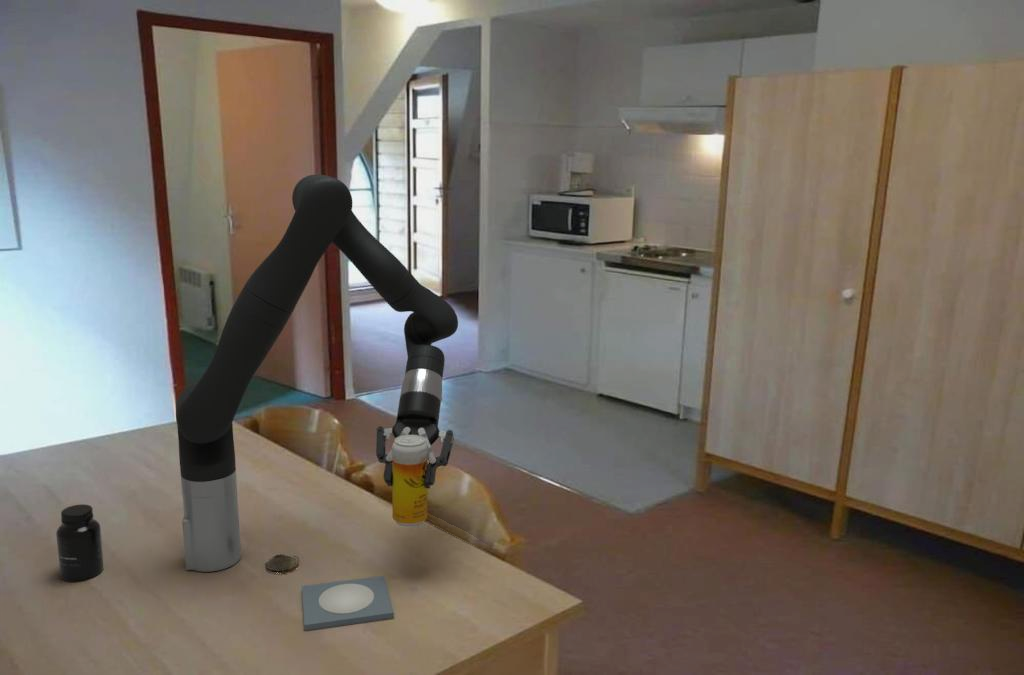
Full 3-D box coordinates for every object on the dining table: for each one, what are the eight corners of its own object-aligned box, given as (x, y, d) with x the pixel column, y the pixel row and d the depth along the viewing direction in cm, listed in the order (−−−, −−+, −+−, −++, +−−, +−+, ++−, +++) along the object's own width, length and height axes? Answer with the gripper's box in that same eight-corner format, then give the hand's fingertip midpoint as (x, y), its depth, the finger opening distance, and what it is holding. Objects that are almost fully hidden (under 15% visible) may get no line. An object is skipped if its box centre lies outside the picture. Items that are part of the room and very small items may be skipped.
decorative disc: (257, 573, 142) (257, 568, 142) (273, 557, 148) (272, 552, 148) (292, 577, 141) (292, 572, 141) (306, 560, 147) (306, 555, 147)
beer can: (421, 530, 137) (421, 447, 133) (387, 525, 138) (387, 444, 134) (431, 515, 142) (432, 435, 139) (399, 511, 144) (399, 432, 140)
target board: (304, 630, 125) (304, 623, 125) (301, 591, 136) (301, 584, 136) (393, 618, 129) (393, 611, 128) (384, 580, 140) (384, 574, 140)
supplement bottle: (60, 586, 136) (52, 521, 133) (61, 568, 142) (54, 505, 139) (104, 577, 139) (98, 513, 137) (104, 559, 145) (97, 498, 142)
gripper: (378, 387, 143) (363, 475, 134) (457, 391, 142) (447, 479, 133) (384, 406, 149) (370, 491, 140) (461, 410, 148) (451, 495, 140)
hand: (408, 485), depth 137 cm, fingers closed on beer can, 6 cm apart
